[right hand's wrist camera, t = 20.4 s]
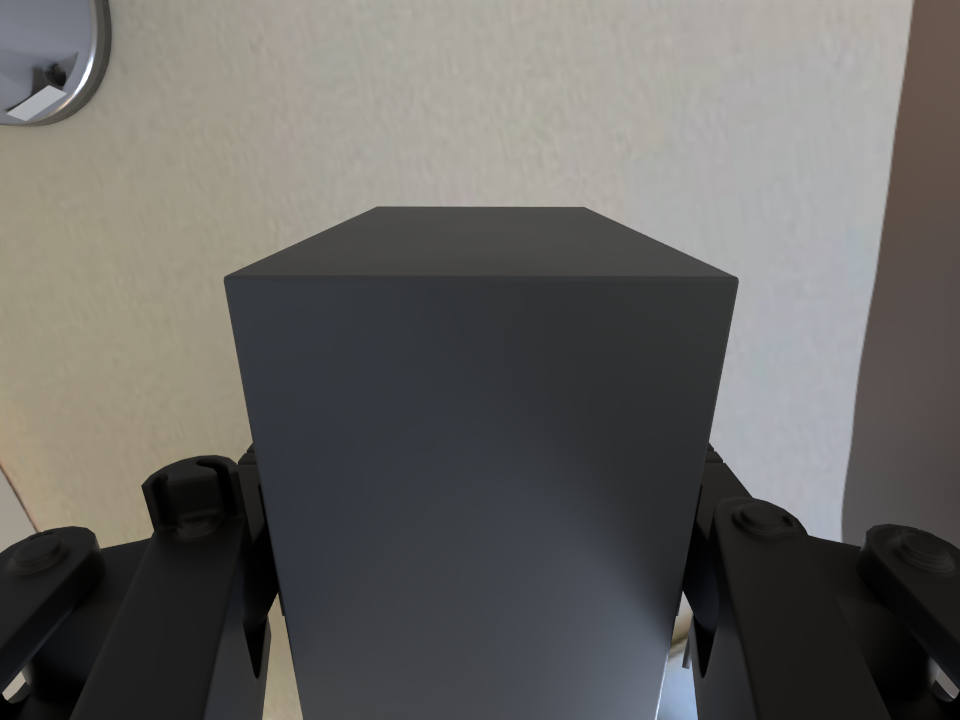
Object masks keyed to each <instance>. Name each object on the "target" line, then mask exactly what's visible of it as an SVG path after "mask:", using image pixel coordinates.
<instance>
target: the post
mask: <svg viewBox="0 0 960 720" xmlns="http://www.w3.org/2000/svg"><path fill="white" fill-rule="evenodd" d="M738 283H739V281H738V278H737V277H735V276H733V275H730V274H728V273H726V272H724V271H722V270H720V269H717V268H715V267H713V266H711V265H709V264H707V263H704V262H702V261H700V260H698V259H696V258H694V257H691V256H689V255H687V254H685V253H683V252H681V251H678V250H676V249H674V248H672V247H670V246H668V245H665V244H663V243H661V242H659V241H657V240H655V239H652V238H650V237H648V236H646V235H644V234H642V233H639V232H637V231H635V230H633V229H631V228H628V227H626V226H624V225H622V224H620V223H618V222H615V221H613V220H611V219H609V218H607V217H605V216H602V215H600V214H598V213H596V212H594V211H592V210H589V209H587V208H585V207H375V208H373V209H371V210H369V211H367V212H365V213H362V214H360V215H358V216H356V217H354V218H351V219H349V220H347V221H345V222H343V223H340V224H338V225H336V226H334V227H332V228H330V229H327V230H325V231H323V232H321V233H319V234H316V235H314V236H312V237H310V238H308V239H306V240H303V241H301V242H299V243H297V244H295V245H292V246H290V247H288V248H286V249H284V250H282V251H279V252H277V253H275V254H273V255H271V256H268V257H266V258H264V259H262V260H260V261H257V262H255V263H253V264H251V265H249V266H247V267H244V268H242V269H240V270H238V271H236V272H233V273H231V274H229V275H227V276H225V277H224V285H225V290H226V296H227V302H228V307H229V313H230V318H231V324H232V329H233V335H234V340H235V346H236V351H237V357H238V362H239V368H240V373H241V379H242V384H243V390H244V395H245V401H246V406H247V412H248V418H249V423H250V429H251V434H252V440H253V445H254V451H255V456H256V462H257V467H258V473H259V478H260V484H261V489H262V495H263V500H264V506H265V511H266V517H267V522H268V528H269V533H270V539H271V545H272V550H273V556H274V561H275V567H276V572H277V578H278V583H279V589H280V594H281V600H282V605H283V611H284V616H285V622H286V627H287V633H288V638H289V644H290V649H291V655H292V661H293V666H294V672H295V677H296V683H297V688H298V694H299V699H300V705H301V710H302V716H303V720H657V714H658V709H659V704H660V698H661V693H662V688H663V682H664V677H665V672H666V666H667V661H668V656H669V650H670V645H671V640H672V634H673V629H674V624H675V619H676V613H677V608H678V603H679V597H680V592H681V587H682V581H683V576H684V571H685V565H686V560H687V555H688V549H689V544H690V539H691V533H692V528H693V523H694V517H695V512H696V507H697V501H698V496H699V491H700V485H701V480H702V475H703V469H704V464H705V459H706V453H707V448H708V443H709V438H710V432H711V427H712V422H713V416H714V411H715V406H716V400H717V395H718V390H719V384H720V379H721V374H722V368H723V363H724V358H725V352H726V347H727V342H728V336H729V331H730V326H731V320H732V315H733V310H734V304H735V299H736V294H737V288H738Z"/></svg>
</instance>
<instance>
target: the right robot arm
mask: <svg viewBox="0 0 960 720" xmlns="http://www.w3.org/2000/svg"><path fill="white" fill-rule="evenodd" d="M110 49H111V19H110V11H109V5H108V0H0V125H11V126H28V127H31V126H43V125H48V124H52V123H56V122H59V121H61V120H63V119H66V118H68V117H70V116H71V115H73V114H74V113H76V112H77V111H79V110H80V109H81V108H82V107H83V106H84V105H85V104H86V103H87V102H88V101H89V100H90V99H91V98H92V96H93V95H94V94H95V92H96V91H97V89H98V87H99V85H100V84H101V82H102V79H103V77H104V74H105V72H106V68H107V65H108V61H109V56H110ZM141 487H142V490H143V493H144V497H145V500H146V504H147V507H148V511H149V514H150V517H151V521H152V524H153V528H154V532H153V535H152V537H151V538H148V539H145V540H141V541H136V542H131V543H126V544H122V545H117V546H112V547H107V548H102V549H100V547H99V544H98V542H97V539H96V536H95V534H94V533H93V532H92V531H90V530H89V529H88V528H84V527H76V526H70V527H62V528H55V529H50V530H46V531H44V532H39V533H36V534H34V535H31V536H29V537H27V538H26V539H24V540H22V541H19V542H17V543H15V544H13V545H11V546H10V547H8V548H7V549H6V550H4V551H3V552H1V553H0V720H262V716H263V707H264V698H265V689H266V680H267V670H268V661H269V652H270V643H271V630H270V624H269V619H268V612H269V610H270V608H271V606H272V604H273V602H274V599H275V597H276V595H277V593H278V595H279V600H280V606H281V611H282V616H284V611H283V605H282V600H281V594H280V589H279V583H278V578H277V572H276V567H275V561H274V556H273V550H272V545H271V539H270V533H269V528H268V522H267V517H266V511H265V506H264V500H263V495H262V489H261V484H260V478H259V473H258V467H257V462H256V456H255V451H254V445H253V443H252V445H251V446H250V447H249V448H248V450H247V453H245V454H244V455H243V456H242V457H241V459H240V460H239V461H238V465H237V464H236V463H235V462H234V461H232V460H231V459H230V458H227V457H223V456H218V455H208V456H197V457H192V458H188V459H183V460H180V461H178V462H175V463H172V464H170V465H167V466H165V467H163V468H162V469H160V470H158V471H157V472H155V473H154V474H152V475H150V476H149V478H148V479H147V480H146V481H145V482H144V483H143V484H142V485H141ZM682 592H684V594H685V596H686V598H687V600H688V602H689V604H690V607H691V609H692V611H693V614H692V619H691V624H690V629H689V633H688V638H687V643H686V648H685V653H684V658H683V665H682V667H683V668H687V669H689V667H690V662H691V660H692V669H693V678H694V687H695V696H696V706H697V715H698V720H960V691H959V693H958V696H957V697H956V698H955V699H954V698H952V697H951V696H950V695H949V694H948V693H947V692H946V691H945V690H944V689H943V688H942V687H941V685H940V684H939V683H938V682H937V681H936V677H937V675H938V673H939V671H940V669H942V670H943V671H944V673H945V674H946V675H947V676H948V677H949V678H950V680H951V681H952V682H953V683H954V684H955V685H956V687H957V688H958V689H959V690H960V550H959V549H958V548H957V547H955V546H954V545H952V544H951V543H949V542H947V541H945V540H943V539H941V538H938V537H936V536H934V535H933V534H931V533H929V532H926V531H923V530H918V529H916V528H912V527H908V526H901V525H893V524H884V525H876V526H873V527H872V528H871V529H869V530H868V531H867V532H866V534H865V537H864V540H863V543H862V546H861V547H859V546H854V545H849V544H845V543H840V542H835V541H830V540H825V539H821V538H817V537H813V536H809V535H808V534H807V531H806V530H805V528H804V527H803V526H802V524H801V523H800V522H799V520H798V519H797V518H796V517H794V516H793V515H791V514H790V513H789V512H787V511H786V510H785V509H783V508H781V507H778V506H776V505H774V504H772V503H770V502H767V501H763V500H759V499H755V498H753V497H752V496H751V495H750V494H749V492H748V491H747V490H746V489H745V487H744V486H743V485H742V484H741V482H740V481H739V480H738V478H737V477H736V476H735V475H734V473H733V472H732V471H731V470H730V468H729V467H728V466H727V465H726V463H723V460H722V458H721V457H720V456H719V455H718V453H717V452H716V451H714V448H713V447H712V446H711V444H710V443H708V448H707V453H706V459H705V464H704V469H703V475H702V480H701V485H700V491H699V496H698V501H697V507H696V512H695V517H694V523H693V528H692V533H691V539H690V544H689V549H688V555H687V560H686V565H685V571H684V576H683V581H682V587H681V592H680V597H679V603H678V608H677V613H676V616H678V613H679V608H680V602H681V597H682ZM20 671H21V672H22V674H23V676H24V678H25V680H26V682H25V683H24V684H23V686H22V687H21V688H20V689H19V690H18V692H17V693H15V694H14V695H13V696H12V697H11V698H10V699H9V700H8V701H7V700H6V699H5V698H4V696H3V694H2V692H3V691H4V690H5V689H6V688H7V687H8V685H9V684H10V683H11V682H12V681H13V680H14V678H15V677H16V676H17V675H18V674H19V672H20Z"/></svg>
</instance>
